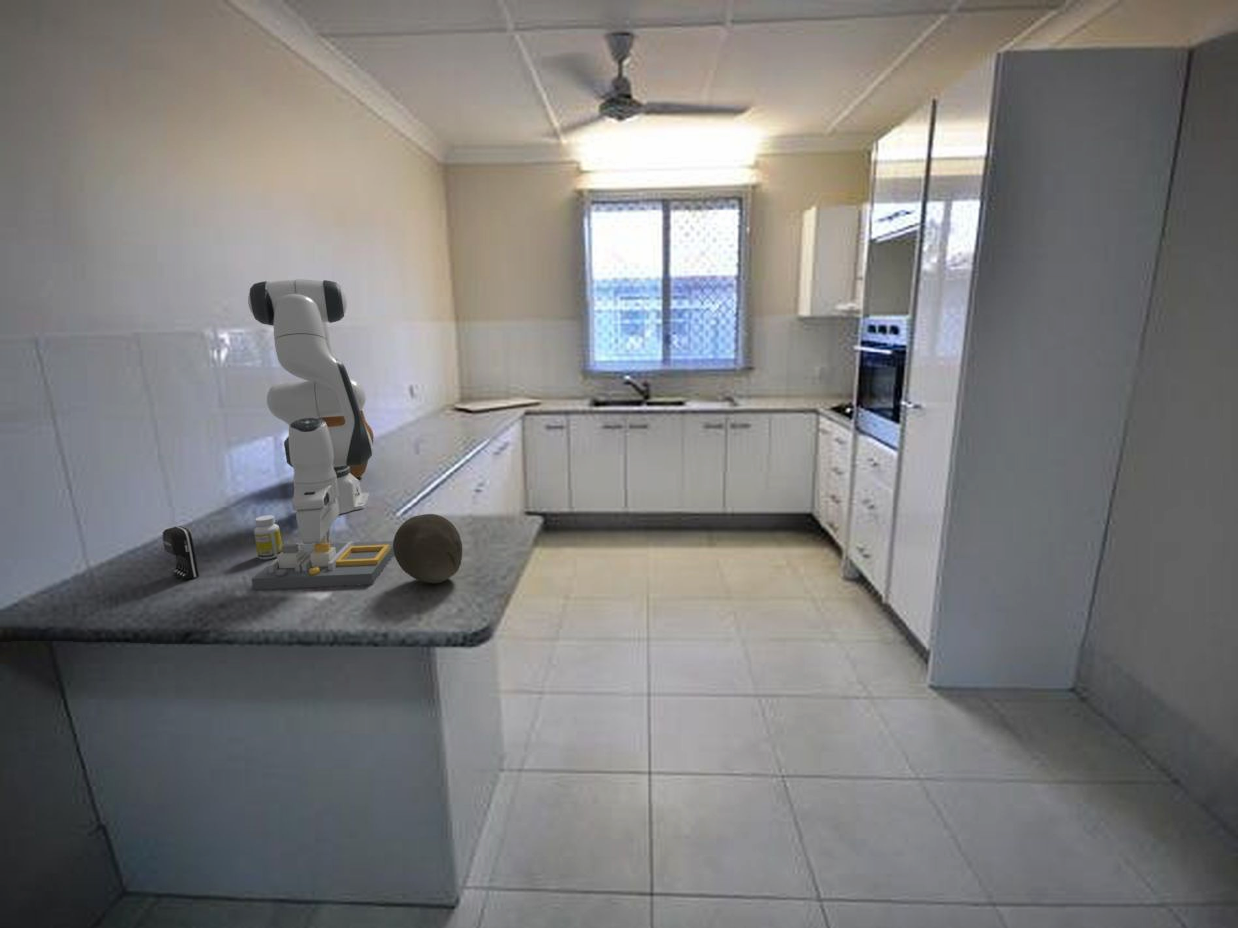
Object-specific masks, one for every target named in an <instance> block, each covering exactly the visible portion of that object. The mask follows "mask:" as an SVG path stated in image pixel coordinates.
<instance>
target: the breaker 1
mask: <svg viewBox="0 0 1238 928" xmlns="http://www.w3.org/2000/svg"><path fill="white" fill-rule="evenodd" d="M298 544H299V543H290V544H282V546H281V547H282V552H281V553H280V554H279V555H278V556H277V557H276V558H278V564H279V568H295V564H296V563H297V562H298V561H299V560H300V559H301V558H303V557H304V556H305V554H304V548H300V549H298Z"/></svg>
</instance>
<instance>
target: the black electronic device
mask: <svg viewBox="0 0 1238 928" xmlns="http://www.w3.org/2000/svg"><path fill="white" fill-rule="evenodd" d="M162 543H163V548H164V550H165V552H167V553H169V554H171V555H173V556H175V559H176V560H175V561H176V566H175V569H174V571H173V573H172V575H173V576H174V577H176V578H178V579H180V580H182V581H183V580H184V581H186V580H191V579H195V578H198V577H199V575H200V573H199V569H198V565H197V558H196V553H195V545H194V541H193V536H192V533H191V531H190V529H188V528H186V527H184V526H181V525H175V526H172V527H168V528H166V529H164V531H163V532H162Z"/></svg>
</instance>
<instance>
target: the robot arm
mask: <svg viewBox="0 0 1238 928" xmlns="http://www.w3.org/2000/svg"><path fill="white" fill-rule="evenodd" d="M346 297H347V296H346V295H345V293H344V290H343V289H342V287H341V285H339V283H337V282H336V281H331V280H326V279H324V280H323V281H322V280H316V279H315V280H313V279H301V278H298V279H294V280H293V279H290V280H276V281H269V282H268V281H260V282H256V283H253V285H252V286H251V287H250V288H249V292H248V298H247V305H248V307H249V310H250V312H251V314H252V316H253V317H254V319H255V320H256V321H258V323H260V324H264V325H268V326H273V339H274V340H273V341H274V349H275V352H276V356H277V361H278V363H279V364H280V367H282V368H283V370H285V371H286V372H288V373H289V374H291V375H292V376H295V377H297V378H299V379H302V380H289V381H285V382H281V383H278V384H276V383H275V384H273V385H272V386H271V387H270V389H269V390H268V392H267V395H266V406H267V408H268V410H269V411H270V412H271V414H272V415H273V416H274V417H275V418H277V419H278V420H281V421H282V422H284V423H286V425H288V436H287V438H286V439H284V442H283V445H284V446H283V447H284V453H285V460H286V464H288V465H289V466H290V467H291V468H293V478H292V480H293V481H292V482H293V487H294V489H293V497H292V500H291V509H292V510H293V511H295V518H296V524H297V528H298V533H299V537H300V540H301V542H302V543H303V545H308V544H316V543H330V544H331V539H330V538H331V528H332V526H333V525H334V522H336V520H337V519H338V517H339V515H340V514H341V515H342V514H345V513H349V512H353V511H357V510H362V509H364V508H366V505H367V503H368V500H369V498H370V494H369V492H363V491H362V489H361V482H360V480H359V479H358V478H355V477H354V476H353V475H352V474H351V473H350V467H349V466H362V465H363V464H364V463H366V462H367V461H368V462H369V460H370V459H371V457H372V456H373V450H374V449H373V446H374V443H373V444H372V440H371V437H370V435H369V433H368V431H367V429H366V427H365V425H364V422H363V419H362V416H361V412H360V411H361V410H362V411H363V409H364V406H365V403H366V398H367V397H366V393H365V390H364V388H363V386H362V385H361V384H360V383H359V382H358V381H357V380H356V379H353V378H351V377H350V376H349V373H348V371H347V369H346V367H345V365H344V363H343V362H342V360H340V359H338V358H335V357H334V354H333V350H332V346H331V340H330V333H329V328H328V324H332V323H335V322H339V321H341V320H342V319H343V318H344V317H345V313H346V311H347V304H348V303H347V298H346ZM338 416H344V419H345V424H344V425H342V426H335V427H327V424H326V422H325V421H324V420H322V419H318V418H324V417H338Z"/></svg>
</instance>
